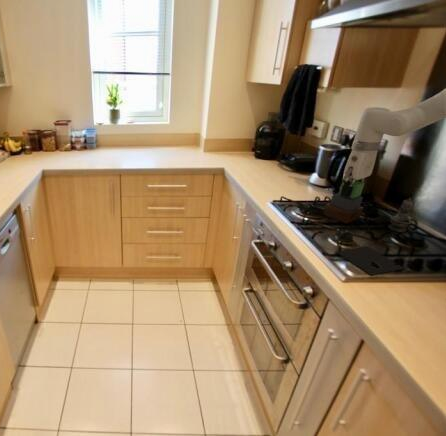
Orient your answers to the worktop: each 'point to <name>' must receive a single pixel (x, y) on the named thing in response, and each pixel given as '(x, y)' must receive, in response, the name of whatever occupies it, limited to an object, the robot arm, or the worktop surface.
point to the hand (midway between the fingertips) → (349, 193)
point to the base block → (342, 213)
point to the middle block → (346, 202)
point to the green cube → (355, 188)
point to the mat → (369, 260)
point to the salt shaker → (402, 217)
